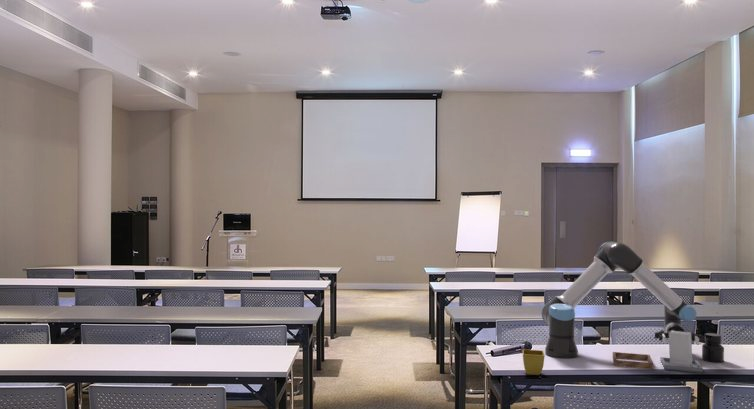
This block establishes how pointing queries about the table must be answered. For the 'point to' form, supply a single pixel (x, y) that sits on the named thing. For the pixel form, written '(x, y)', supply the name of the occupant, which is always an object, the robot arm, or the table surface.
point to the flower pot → (533, 361)
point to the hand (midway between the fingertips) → (681, 340)
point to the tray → (694, 368)
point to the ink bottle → (713, 348)
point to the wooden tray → (632, 363)
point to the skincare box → (680, 348)
